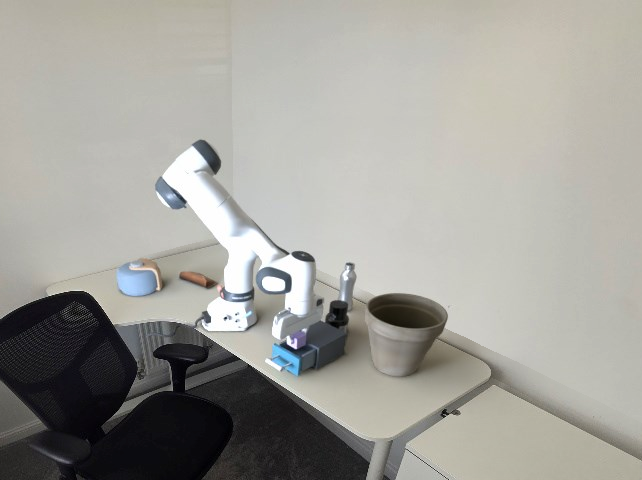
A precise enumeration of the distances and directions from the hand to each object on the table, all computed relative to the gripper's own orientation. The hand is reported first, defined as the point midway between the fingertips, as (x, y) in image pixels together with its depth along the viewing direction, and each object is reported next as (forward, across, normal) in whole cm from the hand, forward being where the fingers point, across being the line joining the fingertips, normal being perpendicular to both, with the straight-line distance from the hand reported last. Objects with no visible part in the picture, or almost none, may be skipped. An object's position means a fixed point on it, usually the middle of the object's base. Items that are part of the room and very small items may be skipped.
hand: (296, 340), depth 146 cm
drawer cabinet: (+10, +11, 0) cm, 15 cm away
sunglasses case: (+10, +15, +79) cm, 81 cm away
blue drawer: (+9, -1, 0) cm, 9 cm away
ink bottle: (+10, +28, +5) cm, 30 cm away
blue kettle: (+10, -9, +91) cm, 92 cm away
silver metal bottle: (+10, +45, +15) cm, 49 cm away
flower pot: (+10, +26, -22) cm, 36 cm away
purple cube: (+2, 0, 0) cm, 2 cm away
